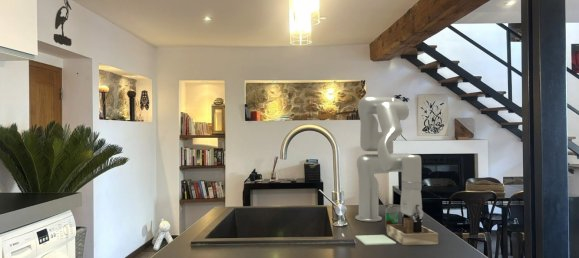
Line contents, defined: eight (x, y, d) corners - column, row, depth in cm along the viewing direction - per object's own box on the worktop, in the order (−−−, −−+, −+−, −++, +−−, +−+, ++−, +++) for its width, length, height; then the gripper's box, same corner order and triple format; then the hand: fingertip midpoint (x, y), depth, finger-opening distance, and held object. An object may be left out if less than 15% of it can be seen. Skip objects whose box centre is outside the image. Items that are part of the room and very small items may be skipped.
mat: (355, 237, 162) (355, 235, 162) (383, 236, 164) (383, 234, 164) (365, 245, 151) (365, 243, 151) (395, 243, 152) (395, 242, 152)
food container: (401, 232, 171) (401, 208, 171) (386, 231, 172) (386, 207, 172) (399, 225, 183) (399, 203, 183) (385, 225, 184) (385, 203, 184)
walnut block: (403, 237, 162) (403, 217, 162) (414, 237, 162) (414, 217, 162) (408, 240, 157) (408, 220, 157) (419, 240, 158) (419, 219, 158)
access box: (386, 234, 167) (386, 224, 167) (417, 233, 169) (417, 223, 169) (404, 245, 150) (404, 234, 150) (438, 244, 152) (438, 233, 153)
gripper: (393, 183, 168) (393, 225, 167) (412, 188, 151) (412, 234, 150) (410, 183, 169) (410, 224, 169) (431, 188, 152) (431, 234, 151)
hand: (411, 229), depth 159 cm, fingers open, 9 cm apart
